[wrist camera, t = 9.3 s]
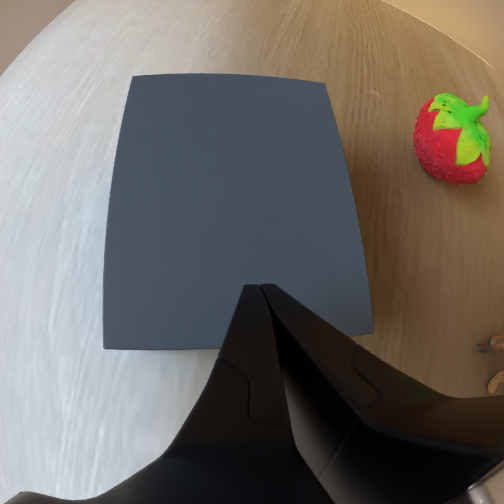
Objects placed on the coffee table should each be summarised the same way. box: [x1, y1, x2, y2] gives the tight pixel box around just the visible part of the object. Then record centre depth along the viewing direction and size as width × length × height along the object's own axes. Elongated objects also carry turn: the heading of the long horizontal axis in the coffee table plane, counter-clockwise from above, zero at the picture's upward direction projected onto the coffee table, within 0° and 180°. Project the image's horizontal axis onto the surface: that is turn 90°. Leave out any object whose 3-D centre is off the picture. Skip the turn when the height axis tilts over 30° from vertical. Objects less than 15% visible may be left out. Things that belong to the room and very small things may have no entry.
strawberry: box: [413, 93, 491, 185], centre depth 19 cm, size 6×7×10 cm
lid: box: [103, 73, 374, 350], centre depth 13 cm, size 13×11×1 cm
